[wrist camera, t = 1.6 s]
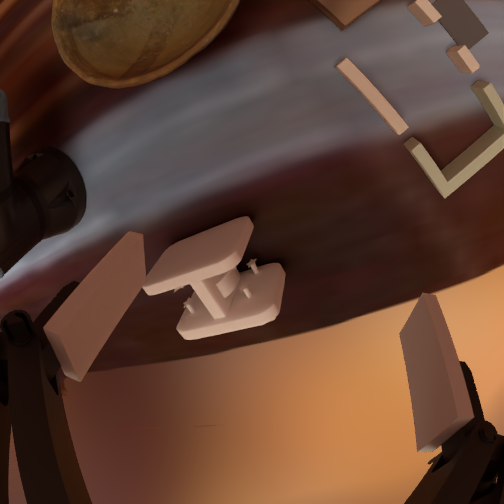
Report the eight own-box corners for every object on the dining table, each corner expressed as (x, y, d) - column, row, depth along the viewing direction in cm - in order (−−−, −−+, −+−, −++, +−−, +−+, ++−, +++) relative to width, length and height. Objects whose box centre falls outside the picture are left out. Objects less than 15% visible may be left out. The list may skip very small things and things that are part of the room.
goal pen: (403, 143, 34) (411, 150, 31) (477, 80, 27) (490, 82, 24) (435, 188, 36) (444, 198, 33) (505, 128, 29) (519, 134, 26)
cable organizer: (257, 207, 42) (238, 253, 33) (288, 269, 47) (280, 325, 37) (169, 242, 48) (135, 288, 38) (203, 294, 52) (180, 346, 43)
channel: (334, 67, 31) (336, 66, 28) (414, 1, 24) (423, -5, 21) (391, 129, 34) (399, 135, 31) (467, 65, 27) (480, 66, 24)
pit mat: (425, 8, 25) (427, 7, 24) (451, -11, 22) (453, -12, 21) (462, 53, 26) (464, 53, 26) (486, 33, 24) (488, 33, 23)
